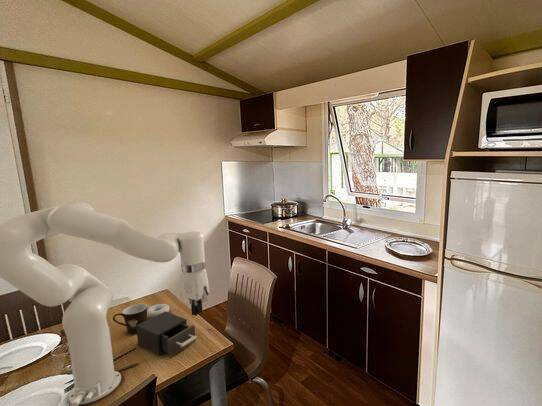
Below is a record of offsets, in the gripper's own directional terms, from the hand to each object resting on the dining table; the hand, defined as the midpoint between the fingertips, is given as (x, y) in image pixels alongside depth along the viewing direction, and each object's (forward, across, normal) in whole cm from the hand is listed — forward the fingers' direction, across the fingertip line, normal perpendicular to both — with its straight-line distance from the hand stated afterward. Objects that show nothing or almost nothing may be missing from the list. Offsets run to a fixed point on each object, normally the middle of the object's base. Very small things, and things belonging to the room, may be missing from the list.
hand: (197, 313), depth 100 cm
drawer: (+17, -13, 0) cm, 22 cm away
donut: (+18, -44, +11) cm, 49 cm away
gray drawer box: (+18, -22, 0) cm, 28 cm away
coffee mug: (+18, -41, -1) cm, 45 cm away
